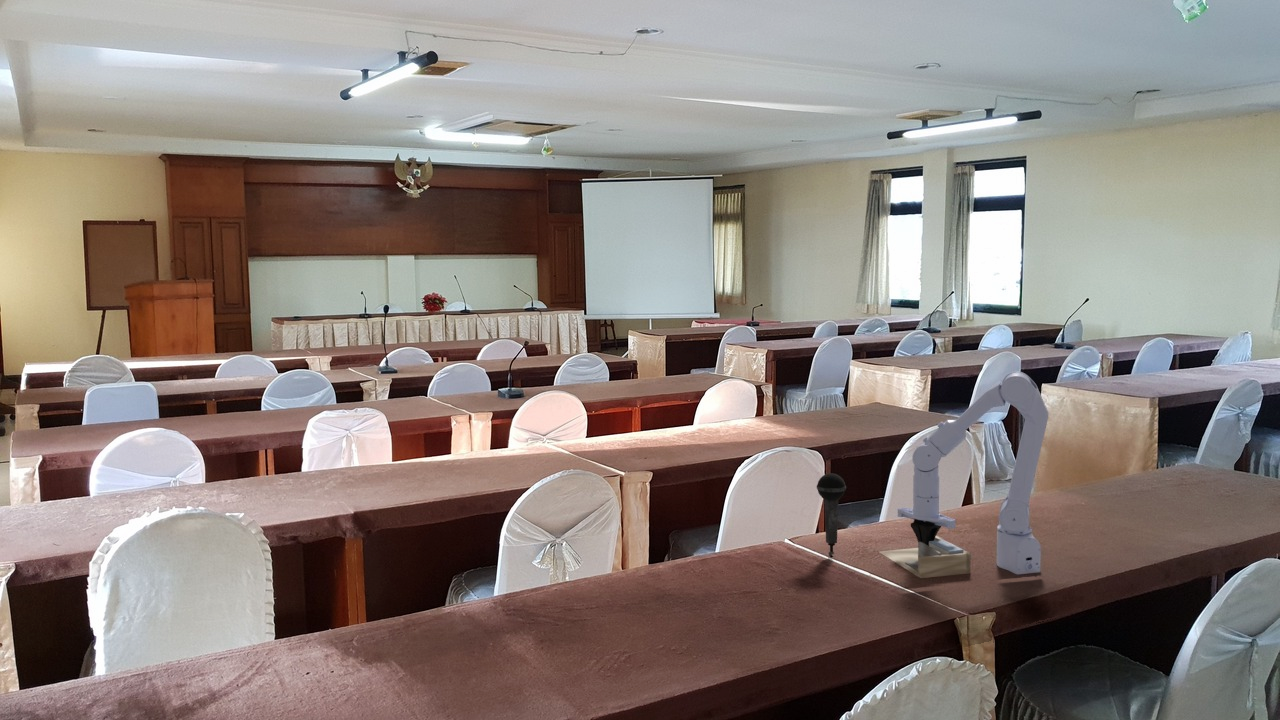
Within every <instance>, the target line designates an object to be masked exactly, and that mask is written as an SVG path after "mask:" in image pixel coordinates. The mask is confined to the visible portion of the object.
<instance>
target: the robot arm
mask: <svg viewBox="0 0 1280 720" xmlns="http://www.w3.org/2000/svg"><path fill="white" fill-rule="evenodd" d="M1006 403H1008V404H1009V405H1011V406H1013V407H1014V408H1016V409H1017V411H1018V412H1019V414H1020V415H1022V418H1023V419H1024V424H1023V428H1022V432H1021V436H1020V441H1019V445H1018V450H1017V454H1016V458H1015V462H1014V467H1013V471H1012V476H1011V481H1010V485H1009V488H1008V493H1007V496H1006V497H1005V499H1004V500H1002V502H1001V503H1000V507H999V510H1000V512H999V513H998V522H999V524H998V525H997V526H996V528H997V529H996V530H997V531H996V566H998V567H997V568H1000V569H1003V570H1007V571H1008V572H1011V573H1013V574H1015V575H1024V574H1034V573H1035V574H1036V573H1041V564H1042V563H1041V562H1042V552H1041V551H1042V547H1041V546H1042V545H1041V543H1040V541H1039V540H1037V539H1036V538H1035V536H1034V535H1033V531H1032V527H1031V526H1030V522H1031V521H1030V513H1031V508H1030V505H1029V504H1030V499H1031V494H1032V489H1033V485H1034V480H1035V477H1036V472H1037V467H1038V463H1039V459H1040V455H1041V450H1042V446H1043V442H1044V437H1045V433H1046V428H1047V425H1048V424H1047V423H1048V421H1049V411H1048V408H1047V406H1046V404H1045V401H1044V398H1043V397H1042V394H1041V393H1040V391H1039V388H1038V386H1037V384H1036V383H1035V381H1034V380H1033V379H1032V378H1031V377H1030V376H1029V375H1028V374H1026V373H1024V372H1022V371H1012V372H1009V373H1007V374H1006V375H1005V377H1004V378H1003V380H1002V379H1000V380H998V381H997V382H995V383H994V384H993V385H992V386H990V387H989V388H988V389H987V390H985V391H984V392H983V393H982V394H981V395H980V396H979V397H978V398H977V399H976V400H975V401H974V402H973V403H972V404H971V405H970V406H968V408H966V410H964V412H962V413H961V414H960V415H959V417H957V418H956V419H946V420H945V421H944V422H943V421H940V422H939V423H938V424H937V429H935V431H933V432H932V433H931V434H930V435H929V436H928V437H927V436H925V437H924V438H923V439H922V441H923V443H920V444H919V445H918V446H916V447H915V450H914V451H913V453H912V463H913V465H914V467H913V473H914V474H913V476H912V478H913V483H912V484H913V489H912V490H913V491H912V492H913V493H912V495H913V499H912V500H913V503H912V504H913V505H912V506H913V508H910V507H909V508H908V507H899V508H897V517H899V518H905V519H906V518H907V519H910V520H913V522H911V523H910V528H911V530H913V534H914V535H915V537H916V540H917V543H918V542H922V543H924V544H926V545H928V546H929V541H934V539H935V537H936V536H938V535H937V534H939V531H940V530H941V528H942V527H944V528H946V529H948V530H952V529H955V528H956V526H957V525H956V524H957V522H956V519H955V518H951V517H949V516H946V515H944V514H942V513H940V475H939V464H940V462H941V459H942V458H945V457H947V456H948V455H949V454H950V453H951V452H953V450H955V449H956V448H957V447H958V446H959V445H960V444H961V443H963V442H964V441H965V439H967V430H968V429H969V428H970V427H971V426H972V425H974V424H975V423H976V422H977V421H978V420H979V419H981V418H983V416H985V414H986V413H988V411H989V412H990V410H991V409H993V408H997V407H999V408H1000V407H1003V406H1005V405H1006Z"/></svg>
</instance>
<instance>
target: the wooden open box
mask: <svg viewBox="0 0 1280 720" xmlns="http://www.w3.org/2000/svg"><path fill="white" fill-rule="evenodd" d="M937 540H944V541H946V542H948V543H950V544H952V545H954V546H956V545H955V544H953V543H951V542H949V541H948V540H945V539H943V538H942V537H941V536H938V535H936V537H935V539H934V541H937ZM878 553H879V554H881V555H883V556H885V557H886V558H887V559H889V560H890V561H892V562H893V563H895V564H897V565H898V566H900V567H901V568H903V569H905V570H907V571H908V572H909V573H911V574H913V575H914V576H916V577H918V578H920V579H926V578H935V577H937V578H938V577H946V576H957V575H966V574H971V568H972V566H971V558H972V556H971V555H972V554H971V552H969V551H967V550H965V549H963V553H955V554H944V555H941V553H940V552H939V551H937V550H935V549H933V548H931V547H930V546H928V545H926V544H924V543H922V542H918V541H917V547H913V548H904V549H903V548H902V549H892V550H891V549H890V550H881V551H878Z"/></svg>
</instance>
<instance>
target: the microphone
mask: <svg viewBox="0 0 1280 720" xmlns="http://www.w3.org/2000/svg"><path fill="white" fill-rule="evenodd" d="M816 489H817V491H818V494H819V496H820V497H821V498H822V499H824V525H825V542H826V544H827V545H828V546H829V551H828V556H829V557H831V556H832V557H833V555H834V554H835V552H834V546H835V545H836V544H837V543H838V524H839V522H838V521H839V500H840V499H841V498H843V496H844V494H845V492H846V489H847V486H846V483H845V481H844V478H842V476H840V475H839V474H837V473H833V472H832V473H831V472H830V473H829V472H828V473H826V474H824V475H822V476H821V477H820V478H819V480H818V481H817V484H816Z"/></svg>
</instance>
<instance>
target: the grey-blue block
mask: <svg viewBox="0 0 1280 720" xmlns="http://www.w3.org/2000/svg"><path fill="white" fill-rule="evenodd" d="M944 540H945V539H944ZM944 540H937V541H929V546H930V547H931V548H933V549H935V550H937V551H939V552H940V553H941V555H944V554H955V553H963V550H964V549H962V547H959V546H958V545H955V544H953V543H951V542H950V543H951V544H950V543H948V542H949V541H948V542H946V541H947V540H946V541H944ZM952 544H953V545H952ZM954 545H955V546H954Z"/></svg>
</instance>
